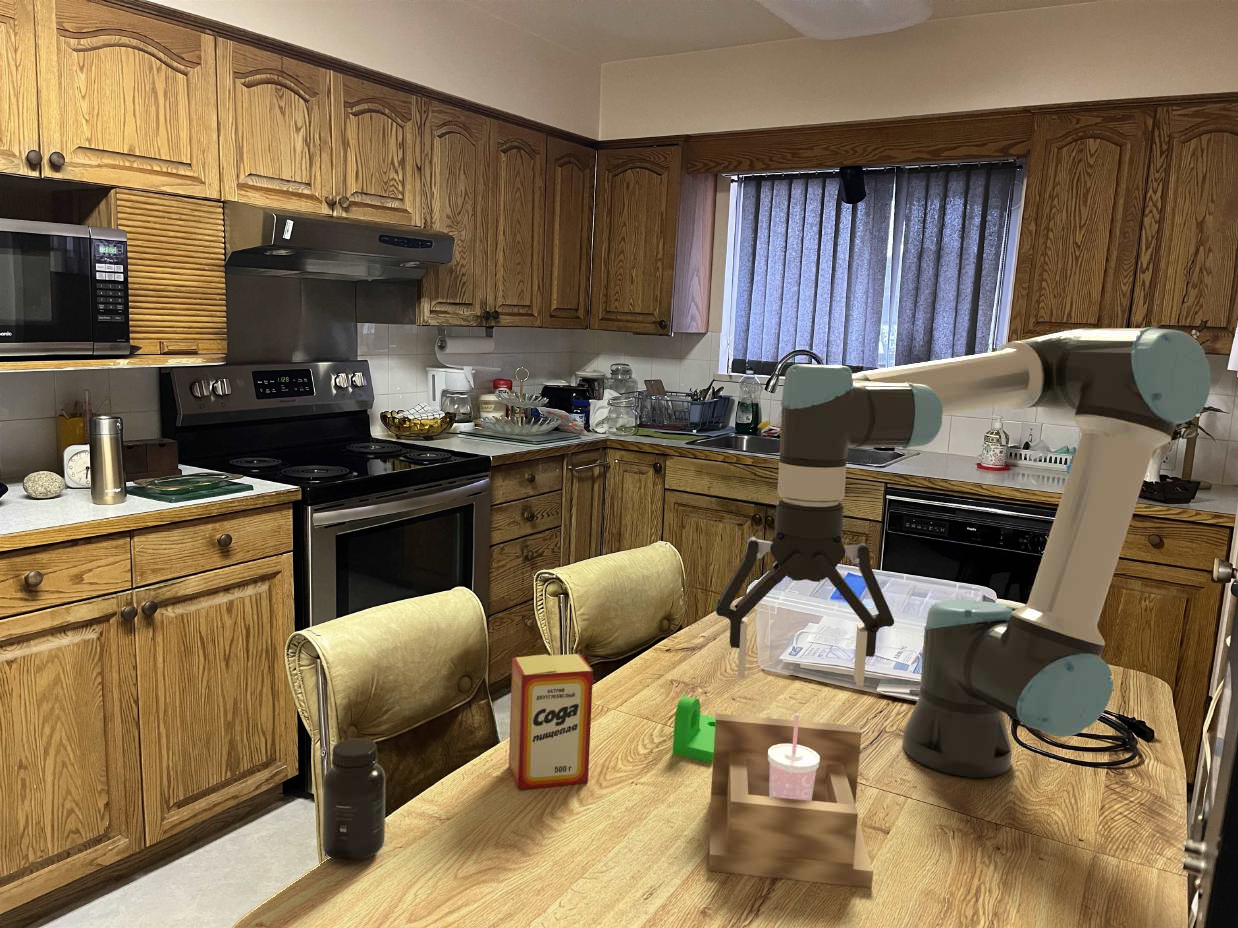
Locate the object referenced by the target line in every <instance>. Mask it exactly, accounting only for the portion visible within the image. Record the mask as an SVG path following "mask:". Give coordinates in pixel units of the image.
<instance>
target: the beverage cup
mask: <svg viewBox="0 0 1238 928" xmlns="http://www.w3.org/2000/svg"><path fill="white" fill-rule="evenodd" d="M799 717H800V714H799V713H794V720H795V721H794V733H793V744H778V745H774V746H772V747H771V748H769V749H768V761H769V762H770V783H769V797H778V798H789V799H799V800H809V801H812V795H813V788H814V781H815V775H816V769H817V768H818V767H819V762H820V756H819V755H818V754H817V753H816V752H815V751H813V750H812V749H810V748H808V747H804V746H801V745H797V733H798V721H800V720H799V719H800V718H799Z"/></svg>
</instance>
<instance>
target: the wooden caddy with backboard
mask: <svg viewBox="0 0 1238 928" xmlns="http://www.w3.org/2000/svg"><path fill="white" fill-rule="evenodd" d="M715 717H716V722H715V737H714V753H713V763H712V767H711V768H712V771H711V773H712V774H711V785H710V786H711V787H710V799H709V800H710V802H709V804H710V805H709V807H710V810H709V840H708V841H709V845H708V871H709V872H717V873H727V874H735V875H745V876H756V877H764V878H772V879H773V878H774V879H783V880H790V881H791V880H793V881H801V882H812V883H818V884H819V883H822V884H831V885H839V886H840V885H841V886H850V887H858V888H867V889H872V887H873V877H874V869H873V866H872V862H871V859H870V855H869V852H868V850H867V845H866V842H865V837H864V833H863V831H862V828H861V824H860V821H859V816H858V815H859V812H858V809H857V807H856V801H857V790H858V777H859V767H860V754H861V743H862V742H861V741H862V730H861V727H860V725H851V724H842V723H841V724H840V723H831V722H830V723H828V722H817V721H808V720H807V721H806V720H799V721H798V733H797V745H801V746H804V747H808V748H810V749H812V750H813V751H815V752H816V753H817V754H818V755H819V756H820V762H819V767H818V768H817V769H816V775H815V781H814V788H813V795H812V801H809V800H799V799H789V798H778V797H769V783H770V762H769V761H768V749H769V748H771V747H772V746H774V745H778V744H793V733H794V721H795V719H785V718H771V717H761V716H760V717H758V716H751V715H750V716H748V715H737V714H726V713H717V712H716V714H715Z"/></svg>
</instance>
